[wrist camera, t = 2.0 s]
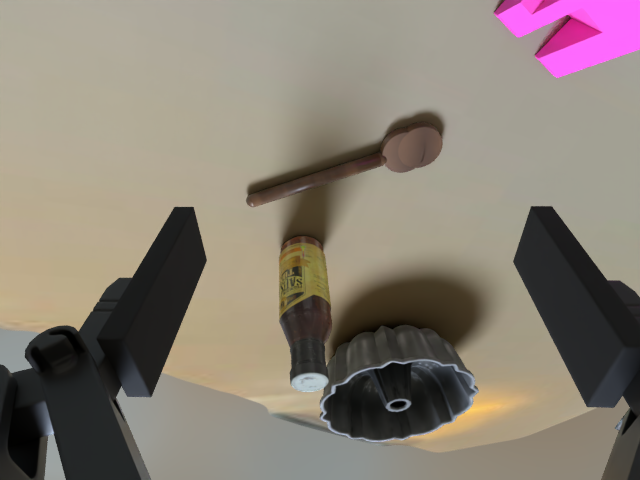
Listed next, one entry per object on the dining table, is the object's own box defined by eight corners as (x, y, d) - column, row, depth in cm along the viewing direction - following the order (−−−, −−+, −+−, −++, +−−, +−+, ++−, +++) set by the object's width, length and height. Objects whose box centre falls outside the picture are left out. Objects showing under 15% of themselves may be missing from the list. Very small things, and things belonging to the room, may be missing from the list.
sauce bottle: (292, 227, 55) (300, 357, 40) (332, 242, 57) (354, 371, 42) (270, 259, 58) (270, 390, 43) (308, 273, 61) (321, 401, 46)
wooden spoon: (255, 214, 53) (255, 222, 52) (237, 182, 50) (237, 189, 48) (441, 154, 50) (446, 161, 48) (436, 115, 46) (440, 122, 45)
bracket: (609, -121, 34) (709, -122, 26) (664, -34, 39) (763, -13, 31) (493, 13, 40) (547, 44, 32) (552, 75, 44) (613, 115, 37)
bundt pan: (285, 349, 72) (286, 404, 65) (422, 285, 65) (442, 338, 57) (359, 405, 88) (367, 455, 80) (477, 358, 80) (498, 408, 72)
